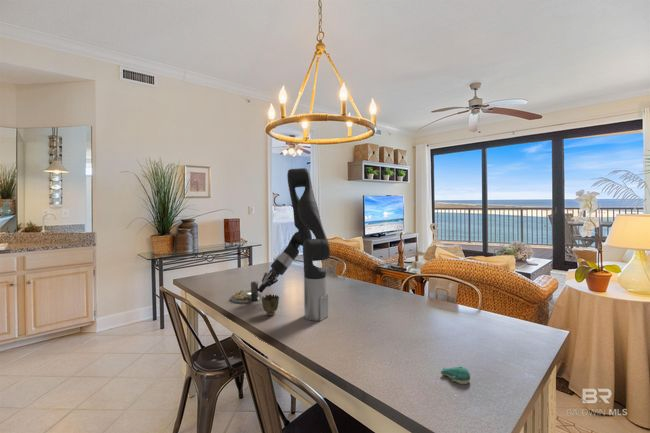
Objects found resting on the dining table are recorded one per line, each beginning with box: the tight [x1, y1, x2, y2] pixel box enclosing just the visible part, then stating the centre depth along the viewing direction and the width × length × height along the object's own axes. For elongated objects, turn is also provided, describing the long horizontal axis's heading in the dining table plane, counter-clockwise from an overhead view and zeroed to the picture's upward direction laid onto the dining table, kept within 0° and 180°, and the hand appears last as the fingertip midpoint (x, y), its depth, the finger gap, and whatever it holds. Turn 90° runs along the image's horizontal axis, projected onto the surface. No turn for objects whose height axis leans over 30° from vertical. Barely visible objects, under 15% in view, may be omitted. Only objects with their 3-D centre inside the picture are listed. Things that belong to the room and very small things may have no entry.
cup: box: [261, 293, 280, 317], centre depth 134 cm, size 8×7×8 cm
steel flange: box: [230, 290, 262, 304], centre depth 157 cm, size 15×15×3 cm
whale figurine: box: [440, 365, 471, 385], centre depth 85 cm, size 6×7×4 cm
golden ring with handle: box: [234, 281, 259, 303], centre depth 154 cm, size 17×12×9 cm
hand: (259, 291), depth 149 cm, fingers closed
